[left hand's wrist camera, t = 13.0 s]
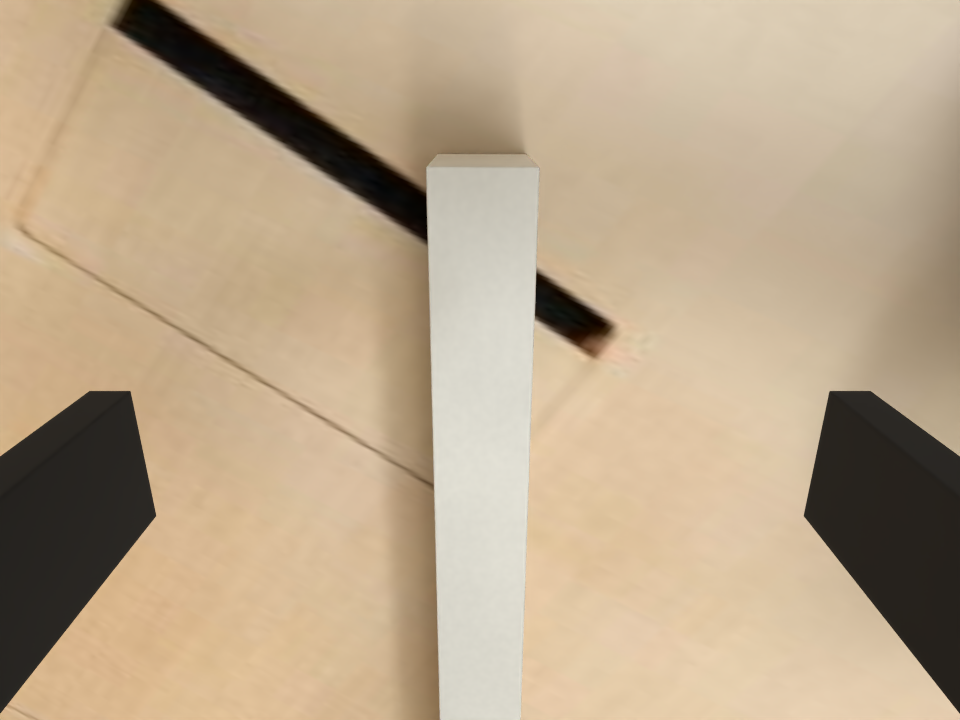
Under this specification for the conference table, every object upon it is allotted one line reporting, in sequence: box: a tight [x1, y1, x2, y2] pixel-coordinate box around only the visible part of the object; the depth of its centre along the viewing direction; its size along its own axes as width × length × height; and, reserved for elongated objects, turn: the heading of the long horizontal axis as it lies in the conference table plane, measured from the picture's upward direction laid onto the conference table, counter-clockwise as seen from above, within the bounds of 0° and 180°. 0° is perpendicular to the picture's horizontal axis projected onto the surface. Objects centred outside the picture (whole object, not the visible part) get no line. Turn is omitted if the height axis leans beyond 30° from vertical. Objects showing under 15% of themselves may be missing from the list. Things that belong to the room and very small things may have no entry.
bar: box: [426, 154, 540, 720], centre depth 45 cm, size 71×5×8 cm, turn 0°
